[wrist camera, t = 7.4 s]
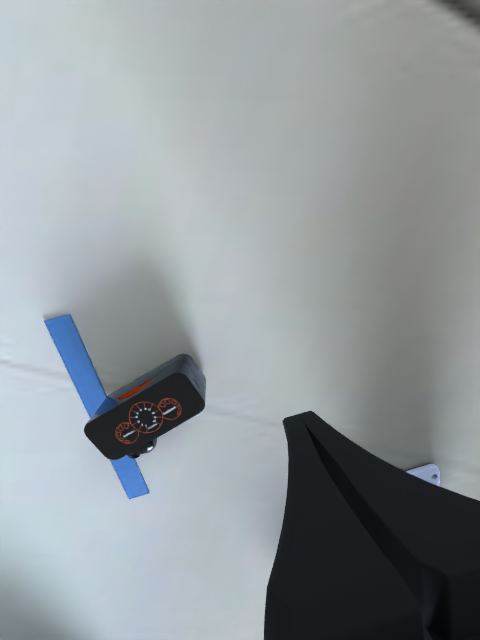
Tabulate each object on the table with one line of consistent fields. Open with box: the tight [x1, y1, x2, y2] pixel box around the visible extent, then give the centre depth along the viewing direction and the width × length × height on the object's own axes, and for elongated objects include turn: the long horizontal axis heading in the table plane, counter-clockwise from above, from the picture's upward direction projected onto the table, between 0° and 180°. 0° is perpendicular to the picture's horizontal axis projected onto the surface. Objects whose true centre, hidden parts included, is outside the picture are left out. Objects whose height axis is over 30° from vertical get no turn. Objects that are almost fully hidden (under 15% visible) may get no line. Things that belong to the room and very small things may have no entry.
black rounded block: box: [84, 354, 206, 460], centre depth 16 cm, size 5×7×3 cm, turn 120°
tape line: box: [44, 314, 149, 499], centre depth 17 cm, size 14×2×1 cm, turn 14°
